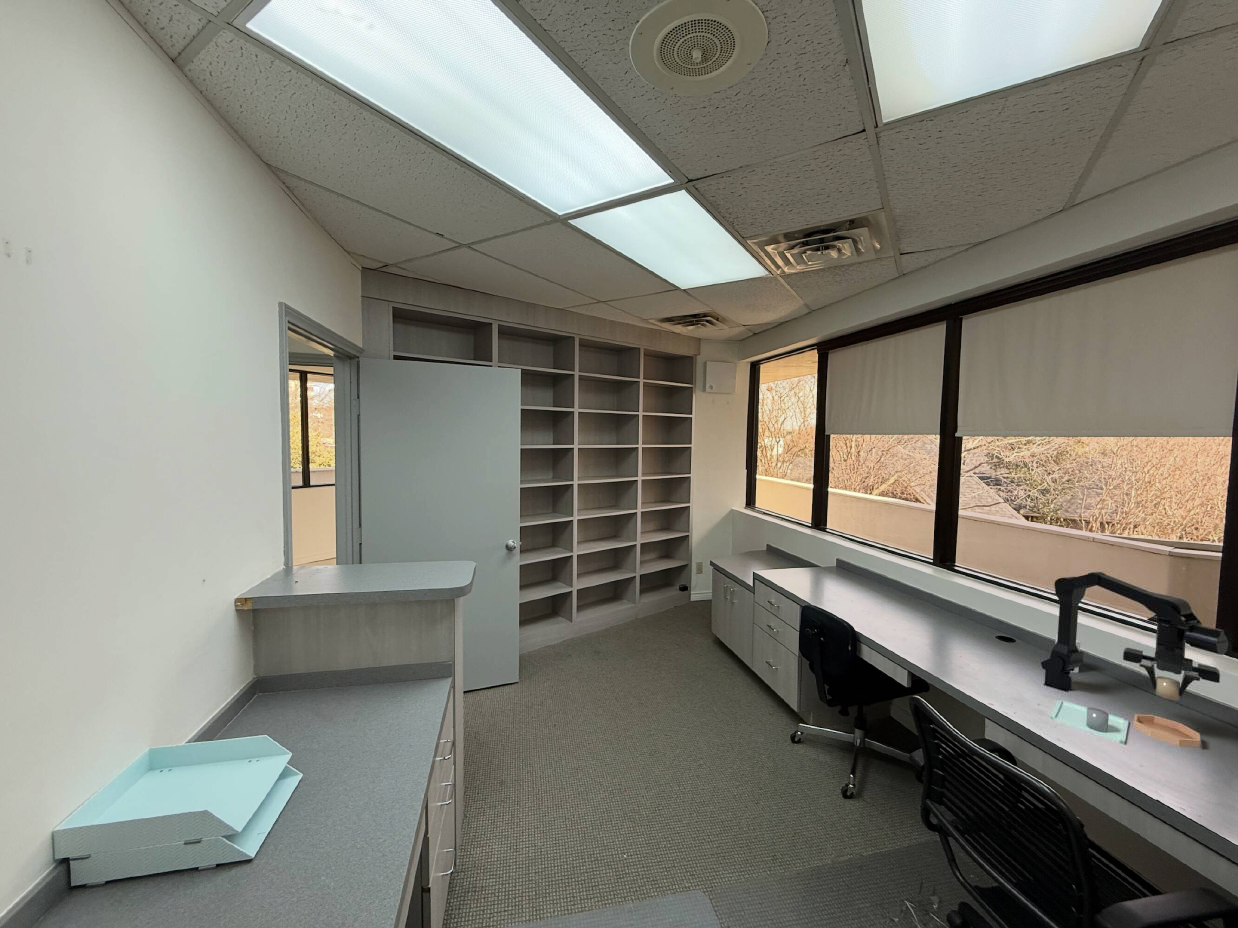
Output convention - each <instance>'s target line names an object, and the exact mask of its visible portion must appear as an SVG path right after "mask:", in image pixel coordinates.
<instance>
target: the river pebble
mask: <svg viewBox="0 0 1238 928" xmlns="http://www.w3.org/2000/svg"><path fill="white" fill-rule="evenodd" d="M1180 686H1181V682H1180V681H1178V680H1177V679H1175V678H1171V677H1167V676H1161V675H1160V676H1159V675H1158V676H1156V690H1155V695H1156V696H1158V697H1160V698H1162V699H1165V700H1170V701H1179V700H1180V696H1179V691H1180Z"/></svg>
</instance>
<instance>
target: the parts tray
mask: <svg viewBox="0 0 1238 928" xmlns="http://www.w3.org/2000/svg"><path fill="white" fill-rule="evenodd" d="M1087 708H1088V707H1087V706H1083V705H1079V704H1077V703H1074V702H1070V701H1066V700H1064V699H1060V698H1058V699H1057V701H1056V703H1055V705H1054V708H1053V710H1052V712H1051V714H1050V716H1049V720H1050V721H1052V722H1056V723H1059V724H1061V725H1064V726H1068V727H1071V728H1074V729H1076V730H1079V731H1083V732H1085V733H1089V734H1091V735H1094V736H1098V737H1101V738H1104V739H1107V740H1110V741H1113V742H1116V743H1119V744H1122V745H1125V744H1126V739H1127V735H1128V734H1127V733H1128V728H1129V721H1130V720H1128V719H1125V718H1122V717H1119V716H1116V715H1113V714H1109V713H1108V714H1109V720H1108V732H1106V733H1103V732H1098V731H1095V730H1092V729H1090V728H1089V727H1087V726H1086V720H1087Z"/></svg>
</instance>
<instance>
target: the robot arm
mask: <svg viewBox="0 0 1238 928" xmlns="http://www.w3.org/2000/svg"><path fill="white" fill-rule="evenodd" d="M1053 584H1054V585H1053V587H1054V592H1055V595H1056V598H1057V599H1058V601H1059V607H1058V608H1059V610H1058V611H1059V612H1058V624H1057V635H1058V637H1057V643H1056V642H1055V644H1054V645H1053V647H1052V649H1051V651H1050V653H1049V658H1047V659H1045V660H1043V661H1041V662H1040V665H1041V669H1042V670H1045V671H1044V682H1043V686H1046V687H1048V688H1052V689H1055V690H1059V691H1062V692H1066V693H1069V692H1070V691H1072V689H1073V676H1072V675H1071V672H1070V671H1074V669H1075V668H1077V667H1080V666H1081V665H1082V664H1084V663H1085V662H1084V659H1083V658H1084V654H1085V653H1084V651H1082V650H1080V651H1079V650H1078V648H1077V646H1076V640H1077V635H1078V634H1077V631H1078V630H1077V629H1078V619H1079V618H1078V617H1079V616H1078V615H1079V606H1080V603H1081V601H1082V600H1083V598H1085V594H1086V591H1087V589H1089V588H1092V587H1096V586H1097V587H1099V588H1102V589H1104V590H1107V591H1108V592H1109V591H1110V592H1112V593H1114V594H1117V595H1119V596H1122V597H1124V598H1126V599H1129V600H1131V601H1134V602H1136V603H1139V604H1140V605H1141V606H1143V607H1145V608H1146V609H1147V610H1148V611H1149V612H1151V613H1153V614H1154V615H1153V616H1151V617H1148V618H1146V620H1147V621H1149V622H1151V623H1155V624H1156V635H1155V637H1156V638H1155V652H1154V656H1151V655H1148V654H1144V650H1140V649H1135V648H1131V647H1125V648H1124V649H1123V653H1122V654H1123V655H1122V660H1123V661H1126V662H1129V663H1134V664H1139V667H1140V668H1143V669H1144V670H1145V671H1146V673H1147V675H1148V677H1149V679H1150V682H1151V685H1152V688H1153V690H1155V691H1156V680H1157V676H1156V669H1157V670H1159V671H1162V672H1168V673H1172V674H1174V675H1179V676H1180V675H1182V673H1183V675H1182V678H1181V682H1180V691H1179V697H1182V696H1183V694H1184V693H1185V691H1186V690H1187V688H1188V687H1189V686H1190V684H1192V683H1193V682H1194V681H1196V682H1197V681H1198V682H1200V681H1201V680H1204V681H1208V682H1211V683H1218V684H1220V683H1221V682H1220V678H1221V674H1220V673H1221V672H1220V669H1218V668H1217V667H1215V666H1210V665H1206V664H1202V663H1198V664H1197V666H1195V665H1194V663H1193V662H1194V659H1192V658H1186V644H1187V645H1189V646H1190V647H1191V648H1195V649H1198V650H1202V651H1206V652H1209V653H1213V654H1216V655H1220V656H1223V655H1225V654H1226V652H1228V651H1227V650H1228V648H1229V641H1228V638H1227V636H1226V635H1225V630H1224V629H1220V628H1216V627H1214V628H1213V627H1209V626H1206V625H1203V623H1202V622H1201V620H1200V619H1199V618H1198V617H1197V615H1195V613H1194V612H1193V611H1192V610H1193V609H1192V607H1191V605H1190V603H1189V602H1188V601H1187V600H1184V599H1183V598H1180V597H1176V596H1172V595H1169V594H1162V593H1157V592H1153V591H1148V590H1147V589H1143V588H1141V587H1139V586H1136V585H1134V584H1131V583H1128V582H1126V581H1124V580H1120V579H1119V578H1116V577H1114V576H1110V575H1108V574H1106V573H1104V572H1103V571H1102V572H1101V571H1091V572H1088V573H1087V574H1083V575H1079V576H1068V577H1059V578H1057V579H1055V581H1054V583H1053ZM1155 665H1156V667H1155Z"/></svg>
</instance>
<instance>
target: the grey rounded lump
mask: <svg viewBox="0 0 1238 928" xmlns="http://www.w3.org/2000/svg"><path fill="white" fill-rule="evenodd" d="M1108 720H1109V713H1108V712H1107V711H1105V710H1102V709H1099V708H1097V707H1087V720H1086V726H1087V727H1089V728H1090V729H1092V730H1095V731H1098V732H1103V733H1106V732H1108Z"/></svg>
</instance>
